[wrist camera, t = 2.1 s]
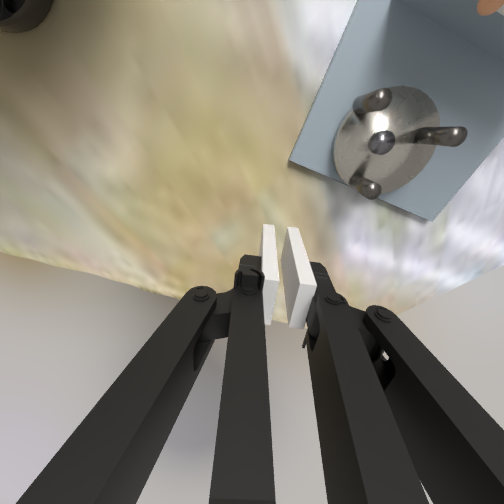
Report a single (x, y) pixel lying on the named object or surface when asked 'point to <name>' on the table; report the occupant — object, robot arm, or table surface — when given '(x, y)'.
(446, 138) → the capstan
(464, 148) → the stand
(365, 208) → the table surface
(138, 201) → the table surface
